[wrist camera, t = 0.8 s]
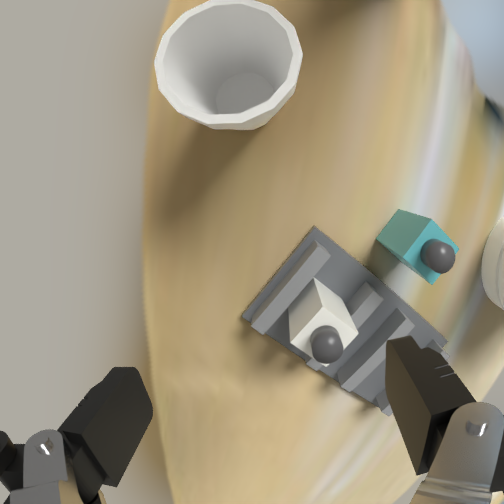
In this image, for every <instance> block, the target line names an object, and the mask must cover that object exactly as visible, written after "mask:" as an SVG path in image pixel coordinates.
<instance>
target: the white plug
mask: <svg viewBox="0 0 504 504" xmlns="http://www.w3.org/2000/svg"><path fill="white" fill-rule="evenodd" d="M288 313H289V331H290V343H291V344H293V345H294V346H296V347H297V348H299V349H300V350H302V351H303V352H305V353H306V354H307V355H309V356H310V357H312V358H313V359H315V360H316V361H318V362H319V363H321V364H322V365H324V366H325V367H327V366H328V365H329V364H330V363H333V362H335V361H337V360H338V359H339V358H340V357H341V356H342V354H343V350H344V349H345V348H346V347H347V346H348V345H349V343H350V342H351V341H352V340H353V339H354V338H355V337H356V336H357V335H358V334H359V333H358V331H357V329H356V327H355V325H354V323H353V321H352V318H351V316H350V314H349V312H348V310H347V308H346V306H345V304H344V302H343V300H342V299H341V298H340V297H339V296H338V295H336V294H335V293H334V292H332V291H331V290H330V289H329V288H327V287H326V286H325V285H323V284H322V283H321V282H320V281H318V280H317V279H316V278H314V277H313V278H312V279H311V281H310V282H309V283H308V284H307V285H306V286H305V288H304V289H303V290H302V291H301V292H300V294H299V295H298V296H297V297H296V298H295V299H294V301H293V302H292V303H291V304H290V305H289V306H288Z"/></svg>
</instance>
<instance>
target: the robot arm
mask: <svg viewBox="0 0 504 504" xmlns="http://www.w3.org/2000/svg"><path fill="white" fill-rule="evenodd" d="M385 389H386V395H387V399H388V401H389V404H390V406H391V409H392V411H393V414H394V416H395V419H396V421H397V424H398V427H399V429H400V432H401V434H402V437H403V440H404V442H405V445H406V448H407V450H408V453H409V456H410V458H411V461H412V464H413V467H414V470H415V472H416V475H420V474H424V473H427V472H428V474H427V476H426V478H425V480H424V481H422V482H421V484H420V485H419V487H418V489H417V491H416V493H415V495H414V497H413V498H412V500H411V502H410V504H490V503H491V499H492V492H498V491H503V493H504V415H503V414H502V412H501V411H500V410H499V409H498V408H497V407H495V406H494V405H491V404H489V403H484V402H476V400H475V399H474V398H473V396H472V395H471V393H470V392H469V391H468V389H467V388H466V387H465V385H464V384H463V382H462V381H461V380H460V378H459V377H458V376H457V374H455V373H454V370H453V369H452V368H451V366H449V365H448V363H447V361H446V360H445V359H444V357H443V356H442V355H441V354H440V353H438V352H436V351H435V350H433V349H431V348H429V347H427V348H423V349H421V348H420V347H419V346H418V344H417V343H416V341H415V340H414V339H413V337H412V336H411V335H409V336H404V337H400V338H395V339H391V340H387V342H386V364H385ZM152 415H153V407H152V403H151V401H150V398H149V396H148V393H147V391H146V389H145V386H144V384H143V381H142V379H141V376H140V374H139V372H138V370H137V369H136V368H135V367H114V368H112V370H111V371H110V372H109V373H108V374H107V376H106V377H105V378H104V379H103V381H101V382H100V383H98V384H97V385H96V386H94V387H93V388H91V389H90V391H89V392H88V393H87V394H86V396H85V397H84V399H82V401H81V402H80V403H79V404H78V407H76V408H75V409H74V410H73V411H72V413H71V414H70V415H69V416H68V418H67V419H66V420H65V421H64V423H63V424H62V425H61V426H60V427H59V429H58V430H57V431H56V430H43V431H40V432H38V433H36V434H34V435H33V436H31V437H30V438H29V439H28V441H27V442H26V444H13V443H12V442H11V440H10V438H9V437H8V435H7V434H6V433H5V432H3V431H0V481H1V482H2V484H3V485H4V486H5V487H6V488H7V489H8V491H9V492H10V495H9V496H8V498H7V499H6V501H5V502H4V504H106V501H105V498H104V495H103V493H102V491H101V490H100V487H101V485H102V484H104V485H109V486H113V487H117V486H118V484H119V482H120V480H121V478H122V476H123V474H124V472H125V470H126V468H127V466H128V464H129V462H130V460H131V458H132V457H133V455H134V453H135V451H136V449H137V447H138V445H139V443H140V441H141V439H142V437H143V435H144V433H145V431H146V429H147V427H148V425H149V423H150V421H151V419H152Z"/></svg>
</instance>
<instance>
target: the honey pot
mask: <svg viewBox="0 0 504 504" xmlns="http://www.w3.org/2000/svg"><path fill="white" fill-rule="evenodd" d="M481 276H482V283H483V287H484V290H485V292H486V295H487V296H488V297H489V299H490V300H491V301H492V302H493V303H494V304H496V305H497V306H499V307H500V308H501V309H503V310H504V216H503V217H502V218H501V219H500V220H499V221H498V222H497V223H496V225H495V226H494V228H493V229H492V231H491V233H490V234H489V237H488V240H487V242H486V245H485V247H484V252H483V257H482V266H481Z"/></svg>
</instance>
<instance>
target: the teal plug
mask: <svg viewBox="0 0 504 504" xmlns="http://www.w3.org/2000/svg"><path fill="white" fill-rule="evenodd" d="M376 240H378V241H379V242H380V243H381V244H382V245H383V246H384V247H385V248H387V249H388V250H389V251H390V252H391V253H392V254H393V255H394V256H395V257H397V258H398V259H399V260H400V261H401V262H402V263H404V264H405V265H406V266H408V267H409V268H410V269H412V270H413V271H414V272H416V273H417V274H418V275H420V276H421V277H422V278H424V279H425V280H426V281H427V282H429V283H430V284H431V285H433V283H434V282H435V281H436V279H437V278H438V277H439V276H440V274H443V273H446V272H448V271H449V270H450V269H451V268H452V266H453V264H454V262H455V254H456V253H457V251H458V250H459V248H458V247H457V246H456V245H455V244H454V242H453V241H452V240H451V239H450V238H449V237H448V236H447V235H446V234H445V233H444V232H443V231H442V229H441V228H440V227H439V226H438V225H437V224H436V223H435V222H434V221H433V220H432V219H430V218H426V217H423V216H420V215H417V214H413V213H410V212H407V211H403V210H400V209H398V211H397V212H396V213H395V214H394V216H393V217H392V218H391V220H390V221H389V222H388V224H387V225H386V226H385V228H384V229H383V230H382V231H381V233H380V234H379V235H378V237H377V238H376Z"/></svg>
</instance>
